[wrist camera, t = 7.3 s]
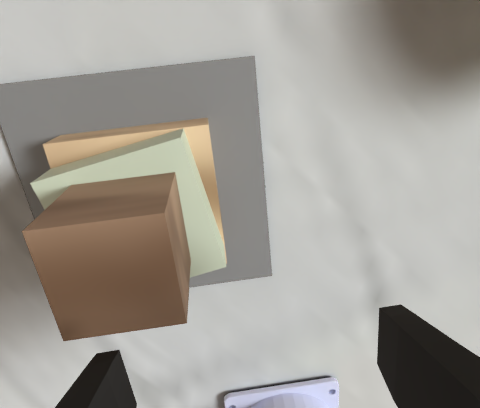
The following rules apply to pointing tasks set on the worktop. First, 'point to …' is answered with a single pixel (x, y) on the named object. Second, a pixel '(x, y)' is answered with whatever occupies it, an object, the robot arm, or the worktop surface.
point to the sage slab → (142, 164)
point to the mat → (153, 112)
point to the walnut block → (113, 256)
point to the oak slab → (105, 140)
